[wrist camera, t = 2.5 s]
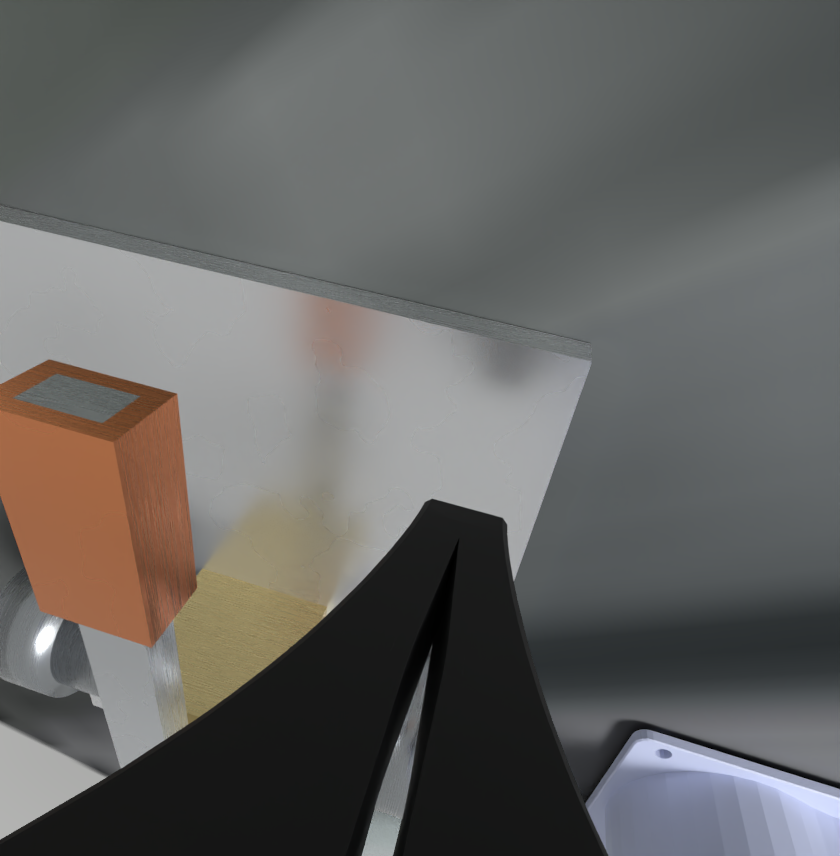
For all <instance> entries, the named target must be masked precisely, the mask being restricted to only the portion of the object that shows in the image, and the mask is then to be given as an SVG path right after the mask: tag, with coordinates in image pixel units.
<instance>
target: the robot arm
mask: <svg viewBox="0 0 840 856" xmlns="http://www.w3.org/2000/svg"><path fill="white" fill-rule="evenodd" d="M431 646H432V649H431ZM430 649H431V655H430V661H429V667H428V674H427V680H426V686H425V692H424V698H423V704H422V711H421V717H420V723H419V729H418V735H417V741H416V748H415V754H414V760H413V766H412V772H411V778H410V784H409V789H408V794H407V799H406V804H405V809H404V813H403V817H402V821H401V826H400V830H399V834H398V838H397V842H396V846H395V850H394V854H393V856H840V789H838V788H835V787H832V786H829V785H825V784H822V783H819V782H816V781H813V780H809V779H806V778H803V777H800V776H797V775H793V774H790V773H787V772H784V771H781V770H777V769H774V768H771V767H768V766H765V765H761V764H758V763H755V762H752V761H748V760H745V759H742V758H739V757H736V756H732V755H729V754H726V753H723V752H720V751H716V750H713V749H710V748H707V747H704V746H700V745H697V744H694V743H691V742H688V741H684V740H681V739H678V738H675V737H672V736H668V735H665V734H662V733H659V732H656V731H652V730H647V729H641V730H638V731H635V732H634V733H633V734H632V735H631V737H630V738H629V740H628V741H627V743H626V744H625V746H624V747H623V748H622V750H621V751H620V753H619V754H618V756H617V757H616V759H615V760H614V762H613V763H612V765H611V766H610V768H609V769H608V771H607V772H606V774H605V775H604V777H603V778H602V780H601V781H600V782H599V784H598V785H597V787H596V788H595V790H594V791H593V793H592V794H591V796H590V797H589V799H588V800H587V802H586V803H584V800H583V798H582V795H581V793H580V791H579V788H578V786H577V783H576V781H575V778H574V776H573V774H572V771H571V769H570V766H569V764H568V761H567V759H566V756H565V753H564V751H563V748H562V745H561V743H560V740H559V737H558V735H557V732H556V730H555V727H554V724H553V721H552V718H551V715H550V713H549V710H548V707H547V704H546V701H545V698H544V695H543V692H542V689H541V685H540V682H539V679H538V676H537V672H536V669H535V666H534V663H533V659H532V656H531V652H530V649H529V645H528V641H527V638H526V634H525V630H524V626H523V621H522V617H521V613H520V609H519V605H518V601H517V596H516V591H515V586H514V581H513V575H512V569H511V563H510V556H509V547H508V535H507V523H506V522H505V520H504V519H503V518H502V517H498V516H495V515H491V514H487V513H483V512H480V511H476V510H472V509H469V508H465V507H461V506H458V505H454V504H450V503H447V502H443V501H439V500H436V499H430V500H428V501H426V502H425V503H424V504H423V506H422V508H421V510H420V511H419V513H418V514H417V516H416V517H415V519H414V520H413V521H412V523H411V524H410V526H409V527H408V528H407V530H406V531H405V532H404V533H403V535H402V536H401V537H400V538H399V540H398V541H397V542H396V543H395V544H394V546H393V547H392V548H391V549H390V550H389V552H388V553H387V554H386V555H385V556H384V557H383V558H382V559H381V560H380V562H379V563H378V564H377V565H376V566H375V567H374V568H373V569H372V570H371V572H370V573H369V574H368V575H367V576H366V577H365V578H364V579H363V580H362V581H361V582H360V583H359V584H358V585H357V586H356V587H355V588H354V589H353V590H352V591H351V592H350V593H349V594H348V595H347V596H346V597H345V598H344V599H343V600H342V601H341V602H340V603H339V604H338V605H337V606H336V607H335V608H334V609H333V610H332V611H331V612H330V613H329V614H328V615H327V616H326V617H324V618H323V619H322V620H321V621H320V622H319V623H318V624H317V625H316V626H315V627H313V628H312V629H311V630H310V631H309V632H308V633H307V634H306V635H304V636H303V637H302V638H301V639H300V640H299V641H297V642H296V643H295V644H294V645H293V646H292V647H290V648H289V649H288V650H287V651H286V652H284V653H283V654H282V655H281V656H279V657H278V658H277V659H276V660H275V661H273V662H272V663H271V664H270V665H268V666H267V667H266V668H265V669H263V670H262V671H261V672H259V673H258V674H257V675H255V676H254V677H253V678H251V679H250V680H249V681H248V682H246V683H245V684H244V685H242V686H241V687H240V688H238V689H237V690H236V691H234V692H233V693H232V694H230V695H229V696H228V697H227V698H225V699H224V700H222V701H221V702H220V703H218V704H217V705H215V706H214V707H213V708H211V709H210V710H208V711H207V712H206V713H204V714H203V715H201V716H200V717H199V718H197V719H196V720H194V721H193V722H191V723H190V724H188V725H187V726H185V727H184V728H182V729H180V730H179V731H177V732H176V733H174V734H173V735H171V736H170V737H168V738H167V739H165V740H164V741H162V742H161V743H159V744H158V745H156V746H155V747H153V748H152V749H150V750H149V751H147V752H146V753H144V754H143V755H141V756H140V757H138V758H136V759H135V760H133V761H132V762H130V763H129V764H127V765H126V766H124V767H123V768H121V769H120V770H118V771H116V772H115V773H113V774H111V775H110V776H108V777H107V778H105V779H103V780H102V781H100V782H99V783H97V784H95V785H93V786H92V787H90V788H88V789H87V790H85V791H83V792H81V793H80V794H78V795H76V796H75V797H73V798H71V799H69V800H68V801H66V802H64V803H63V804H61V805H59V806H57V807H56V808H54V809H52V810H51V811H49V812H47V813H45V814H44V815H42V816H40V817H39V818H37V819H35V820H33V821H32V822H30V823H28V824H26V825H25V826H23V827H21V828H20V829H18V830H16V831H14V832H13V833H11V834H9V835H8V836H6V837H4V838H2V839H1V840H0V856H362V852H363V848H364V845H365V841H366V837H367V834H368V830H369V827H370V823H371V819H372V816H373V812H374V808H375V805H376V801H377V798H378V795H379V792H380V789H381V786H382V783H383V780H384V777H385V773H386V770H387V768H388V765H389V762H390V759H391V757H392V754H393V751H394V748H395V746H396V743H397V740H398V737H399V735H400V732H401V729H402V726H403V724H404V721H405V718H406V715H407V713H408V710H409V707H410V704H411V702H412V699H413V696H414V693H415V691H416V688H417V685H418V682H419V680H420V677H421V674H422V671H423V669H424V666H425V663H426V660H427V658H428V655H429V652H430Z"/></svg>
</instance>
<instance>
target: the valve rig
mask: <svg viewBox="0 0 840 856" xmlns="http://www.w3.org/2000/svg"><path fill="white" fill-rule="evenodd" d="M49 359H50V360H54V361H58V362H61V363H65V364H69V365H72V366H76V367H80V368H84V369H87V370H91V371H95V372H99V373H102V374H106V375H110V376H113V377H117V378H121V379H125V380H128V381H132V382H136V383H140V384H143V385H147V386H151V387H155V388H158V389H162V390H166V391H169V392H173V393H177V396H178V406H179V415H180V425H181V435H182V444H183V454H184V464H185V473H186V483H187V493H188V502H189V512H190V522H191V531H192V541H193V551H194V560H195V570H196V580H197V589H196V590H195V592H194V593H193V594H192V596H191V597H190V598H189V599H188V601H187V602H186V603H185V605H184V606H183V607H182V609H181V610H180V611H179V613H178V614H177V615H176V617H175V618H174V619H173V622H174V629H175V636H176V643H177V650H178V657H179V664H180V670H181V677H182V684H183V691H184V698H185V705H186V712H187V718H188V724H190V723H191V722H193V721H194V720H196V719H197V718H199V717H200V716H201V715H203V714H204V713H206V712H207V711H208V710H210V709H211V708H213V707H214V706H215V705H217V704H218V703H220V702H221V701H222V700H224V699H225V698H227V697H228V696H229V695H230V694H232V693H233V692H234V691H236V690H237V689H238V688H240V687H241V686H242V685H244V684H245V683H246V682H248V681H249V680H250V679H251V678H253V677H254V676H255V675H257V674H258V673H259V672H261V671H262V670H263V669H265V668H266V667H267V666H268V665H270V664H271V663H272V662H273V661H275V660H276V659H277V658H278V657H279V656H281V655H282V654H283V653H284V652H286V651H287V650H288V649H289V648H290V647H292V646H293V645H294V644H295V643H296V642H297V641H299V640H300V639H301V638H302V637H303V636H304V635H306V634H307V633H308V632H309V631H310V630H311V629H312V628H313V627H315V626H316V625H317V624H318V623H319V622H320V621H321V620H322V619H323V618H324V617H326V616H327V615H328V614H329V613H330V612H331V611H332V610H333V609H334V608H335V607H336V606H337V605H338V604H339V603H340V602H341V601H342V600H343V599H344V598H345V597H346V596H347V595H348V594H349V593H350V592H351V591H352V590H353V589H354V588H355V587H356V586H357V585H358V584H359V583H360V582H361V581H362V580H363V579H364V578H365V577H366V576H367V575H368V574H369V573H370V572H371V570H372V569H373V568H374V567H375V566H376V565H377V564H378V563H379V562H380V560H381V559H382V558H383V557H384V556H385V555H386V554H387V553H388V552H389V550H390V549H391V548H392V547H393V546H394V544H395V543H396V542H397V541H398V540H399V538H400V537H401V536H402V535H403V533H404V532H405V531H406V530H407V528H408V527H409V526H410V524H411V523H412V521H413V520H414V519H415V517H416V516H417V514H418V513H419V511H420V510H421V508H422V506H423V504H424V503H425V502H426V501H428V500H430V499H436V500H439V501H443V502H447V503H450V504H454V505H458V506H461V507H465V508H469V509H472V510H476V511H480V512H483V513H487V514H491V515H495V516H498V517H502V518H503V519H504V520H505V522H506V523H507V535H508V547H509V556H510V563H511V569H512V575H513V581H514V579H515V577H516V574H517V571H518V568H519V565H520V563H521V560H522V557H523V554H524V551H525V548H526V546H527V543H528V540H529V537H530V534H531V532H532V529H533V526H534V523H535V520H536V518H537V515H538V512H539V509H540V506H541V503H542V501H543V498H544V495H545V492H546V489H547V487H548V484H549V481H550V478H551V475H552V473H553V470H554V467H555V464H556V461H557V458H558V456H559V453H560V450H561V447H562V444H563V442H564V439H565V436H566V433H567V430H568V428H569V425H570V422H571V419H572V416H573V413H574V411H575V408H576V405H577V402H578V399H579V397H580V394H581V391H582V388H583V385H584V383H585V380H586V377H587V374H588V371H589V368H590V366H591V363H592V353H591V343H587V342H582V341H578V340H574V339H569V338H565V337H561V336H557V335H552V334H548V333H544V332H540V331H535V330H531V329H527V328H522V327H518V326H514V325H510V324H505V323H501V322H497V321H492V320H488V319H484V318H480V317H475V316H471V315H467V314H463V313H458V312H454V311H450V310H445V309H441V308H437V307H433V306H428V305H424V304H420V303H416V302H411V301H407V300H403V299H398V298H394V297H390V296H386V295H381V294H377V293H373V292H369V291H364V290H360V289H356V288H351V287H347V286H343V285H339V284H334V283H330V282H326V281H321V280H317V279H313V278H309V277H304V276H300V275H296V274H292V273H287V272H283V271H279V270H274V269H270V268H266V267H262V266H257V265H253V264H249V263H245V262H240V261H236V260H232V259H227V258H223V257H219V256H215V255H210V254H206V253H202V252H197V251H193V250H189V249H185V248H180V247H176V246H172V245H168V244H163V243H159V242H155V241H150V240H146V239H142V238H138V237H133V236H129V235H125V234H121V233H116V232H112V231H108V230H103V229H99V228H95V227H91V226H86V225H82V224H78V223H73V222H69V221H65V220H61V219H56V218H52V217H48V216H44V215H39V214H35V213H31V212H26V211H22V210H18V209H14V208H9V207H5V206H1V205H0V384H2V383H4V382H6V381H8V380H10V379H12V378H14V377H16V376H17V375H19V374H21V373H23V372H25V371H27V370H29V369H31V368H33V367H35V366H37V365H39V364H41V363H43V362H45V361H47V360H49ZM431 649H432V646H431ZM431 649H430V652H429V655H428V658H427V660H426V663H425V666H424V669H423V671H422V674H421V677H420V680H419V682H418V685H417V688H416V691H415V693H414V696H413V699H412V702H411V704H410V707H409V710H408V713H407V715H406V718H405V721H404V724H403V726H402V729H401V732H400V735H399V737H398V740H397V743H396V746H395V748H394V751H393V754H392V757H391V759H390V762H389V765H388V768H387V770H386V773H385V777H384V780H383V783H382V786H381V789H380V792H379V795H378V798H377V801H376V805H375V808H374V809H375V810H377V811H380V812H383V813H386V814H389V815H392V816H395V817H397V818H400V819H402V817H403V813H404V809H405V804H406V799H407V794H408V789H409V784H410V778H411V772H412V766H413V760H414V754H415V748H416V741H417V735H418V729H419V723H420V717H421V711H422V704H423V698H424V692H425V686H426V680H427V674H428V667H429V661H430V655H431ZM0 677H1V678H2V679H3V680H5V681H8V682H10V683H13V684H16V685H19V686H22V687H25V688H28V689H31V690H33V691H36V692H39V693H42V694H45V695H48V696H51V697H55V698H61V697H65V696H69V695H71V694H73V693H75V692H77V691H78V690H80V691H83V692H86V693H89V694H90V696H91V699H92V703H93V705H95V706H97V707H100V708H103V706H102V703H101V699H100V696H99V693H98V689H97V686H96V682H95V679H94V676H93V672H92V669H91V665H90V662H89V658H88V655H87V652H86V648H85V645H84V641H83V638H82V635H81V631H80V628H79V624H78V623H75V622H72V621H69V620H66V619H63V618H60V617H57V616H53V615H50V614H47V613H44V612H41V611H40V609H39V606H38V603H37V600H36V597H35V595H34V592H33V589H32V586H31V583H30V580H29V577H28V574H27V571H26V568H25V567H24V568H23V569H22V570H21V571H20V572H19V573H17V574H16V575H15V576H14V577H13V578H12V580H11V581H10V582H9V583H8V584H7V585H6V587H5V588H4V589H3V591H2V592H1V594H0Z"/></svg>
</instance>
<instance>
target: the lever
mask: <svg viewBox="0 0 840 856" xmlns="http://www.w3.org/2000/svg"><path fill="white" fill-rule="evenodd" d="M0 496H1V499H2V502H3V505H4V508H5V510H6V513H7V516H8V519H9V522H10V525H11V528H12V531H13V534H14V537H15V539H16V542H17V545H18V548H19V551H20V554H21V557H22V560H23V563H24V566H25V568H26V571H27V574H28V577H29V580H30V583H31V586H32V589H33V592H34V595H35V597H36V600H37V603H38V606H39V609H40V611H41V612H44V613H47V614H50V615H53V616H57V617H60V618H63V619H66V620H69V621H72V622H75V623H78V624H79V628H80V631H81V635H82V638H83V641H84V645H85V648H86V652H87V655H88V658H89V662H90V665H91V669H92V672H93V676H94V679H95V682H96V686H97V689H98V693H99V696H100V699H101V703H102V706H103V710H104V713H105V717H106V720H107V723H108V727H109V730H110V734H111V737H112V740H113V744H114V747H115V751H116V754H117V757H118V761H119V764H120V768H123V767H124V766H126V765H127V764H129V763H130V762H132V761H133V760H135V759H136V758H138V757H140V756H141V755H143V754H144V753H146V752H147V751H149V750H150V749H152V748H153V747H155V746H156V745H158V744H159V743H161V742H162V741H164V740H165V739H167V738H168V737H170V736H171V735H173V734H174V733H176V732H177V731H179V730H180V729H182V728H184V727H185V726H187V725H188V718H187V712H186V705H185V698H184V691H183V684H182V677H181V670H180V664H179V657H178V650H177V643H176V636H175V629H174V622H173V619H174V618H175V617H176V615H177V614H178V613H179V611H180V610H181V609H182V607H183V606H184V605H185V603H186V602H187V601H188V599H189V598H190V597H191V596H192V594H193V593H194V592H195V590H196V589H197V580H196V570H195V560H194V551H193V541H192V531H191V522H190V512H189V502H188V493H187V483H186V473H185V464H184V454H183V444H182V435H181V425H180V415H179V406H178V396H177V393H173V392H169V391H166V390H162V389H158V388H155V387H151V386H147V385H143V384H140V383H136V382H132V381H128V380H125V379H121V378H117V377H113V376H110V375H106V374H102V373H99V372H95V371H91V370H87V369H84V368H80V367H76V366H72V365H69V364H65V363H61V362H58V361H54V360H50V359H49V360H47V361H45V362H43V363H41V364H39V365H37V366H35V367H33V368H31V369H29V370H27V371H25V372H23V373H21V374H19V375H17V376H16V377H14V378H12V379H10V380H8V381H6V382H4V383H2V384H0Z"/></svg>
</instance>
